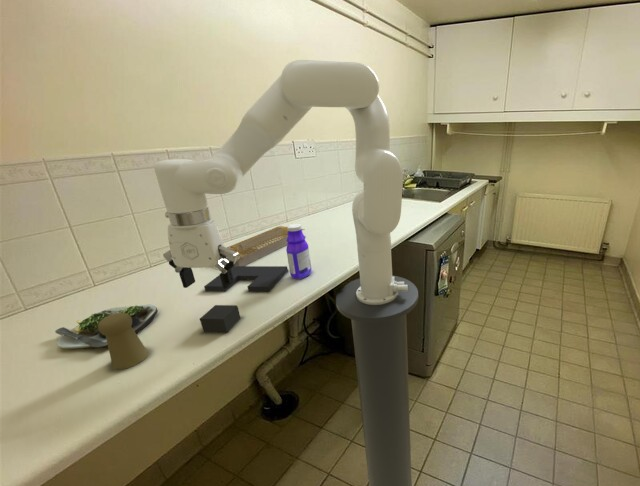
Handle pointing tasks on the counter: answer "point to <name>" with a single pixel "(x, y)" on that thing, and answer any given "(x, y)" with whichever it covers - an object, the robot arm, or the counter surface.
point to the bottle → (298, 252)
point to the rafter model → (256, 253)
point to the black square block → (220, 318)
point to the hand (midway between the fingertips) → (209, 285)
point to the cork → (122, 341)
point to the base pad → (252, 278)
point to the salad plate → (88, 328)
